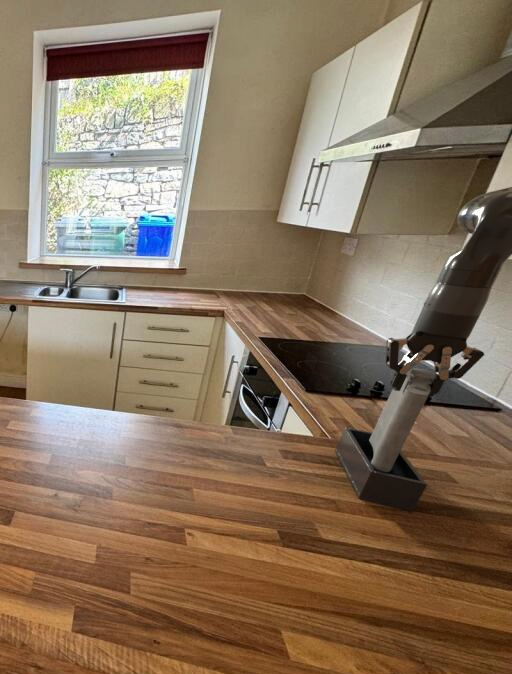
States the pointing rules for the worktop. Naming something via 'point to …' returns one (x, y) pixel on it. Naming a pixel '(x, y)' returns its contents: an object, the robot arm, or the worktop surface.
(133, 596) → the worktop surface
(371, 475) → the flask holder
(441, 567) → the worktop surface
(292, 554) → the worktop surface
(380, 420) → the hip flask
